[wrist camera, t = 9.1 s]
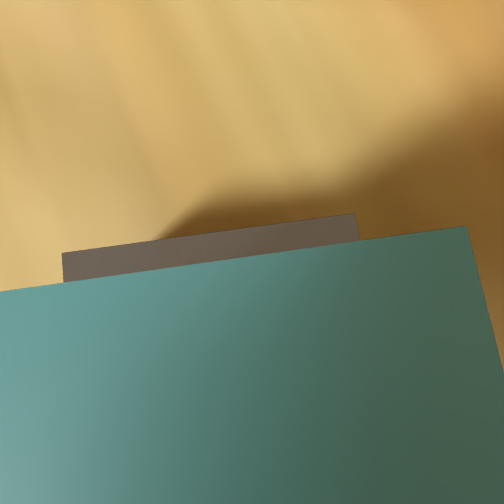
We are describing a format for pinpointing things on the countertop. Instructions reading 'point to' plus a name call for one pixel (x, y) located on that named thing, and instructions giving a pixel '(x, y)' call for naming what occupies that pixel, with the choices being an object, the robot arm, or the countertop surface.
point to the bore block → (208, 247)
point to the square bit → (258, 381)
